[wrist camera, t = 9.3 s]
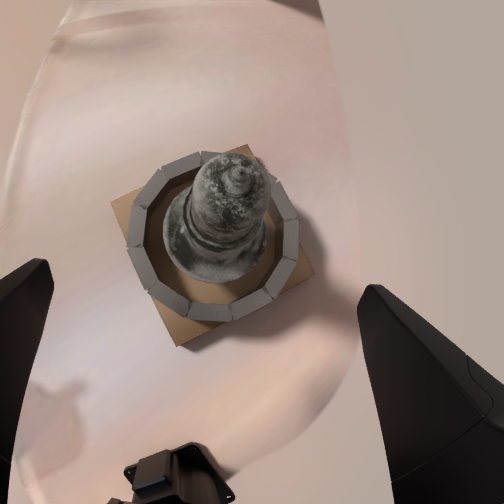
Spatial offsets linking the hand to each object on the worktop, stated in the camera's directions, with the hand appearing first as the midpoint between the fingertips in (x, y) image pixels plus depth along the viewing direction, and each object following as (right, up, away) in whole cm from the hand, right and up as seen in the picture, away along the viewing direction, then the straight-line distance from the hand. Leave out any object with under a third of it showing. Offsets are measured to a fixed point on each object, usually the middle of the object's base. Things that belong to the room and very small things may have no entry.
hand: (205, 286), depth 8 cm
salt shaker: (-1, +2, +13) cm, 13 cm away
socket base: (-2, +2, +14) cm, 14 cm away
